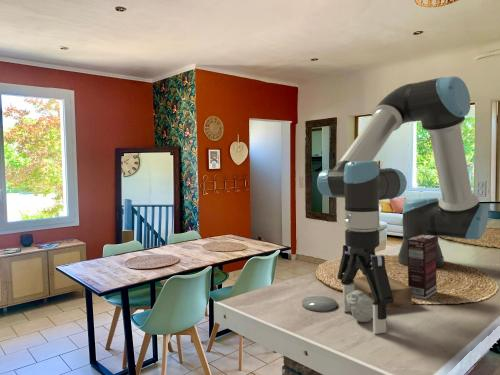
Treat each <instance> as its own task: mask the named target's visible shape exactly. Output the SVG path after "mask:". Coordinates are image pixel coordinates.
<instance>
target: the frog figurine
mask: <svg viewBox="0 0 500 375" xmlns="http://www.w3.org/2000/svg"><path fill="white" fill-rule="evenodd" d="M346 300H347V303H348V306H349V308H351V311H350V312H351V314H352V316H353V318H354V319H355V320H356V321H357V322H360V323H367V322H369V321H371V320H373V302H374V301H373V300H372V299H371V298H370V297H369V296H367V295H365V294H364V293H363V292H362V291H359V290H355V291H353V292H352V293H349V294H348V295H346Z"/></svg>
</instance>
